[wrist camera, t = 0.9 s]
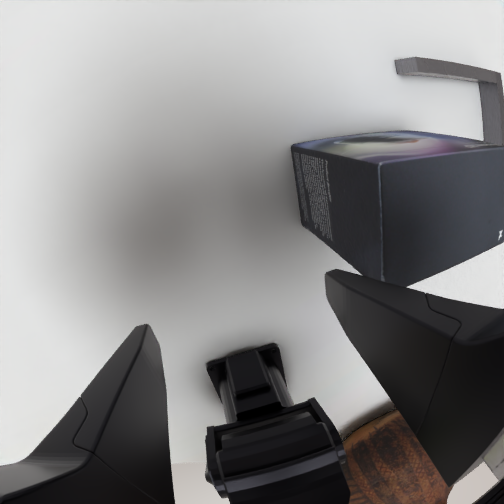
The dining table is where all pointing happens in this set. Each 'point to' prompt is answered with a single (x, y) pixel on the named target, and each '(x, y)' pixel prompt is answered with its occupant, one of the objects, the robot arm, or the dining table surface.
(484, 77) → the guide rails
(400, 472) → the jug
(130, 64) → the dining table surface
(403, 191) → the small box
